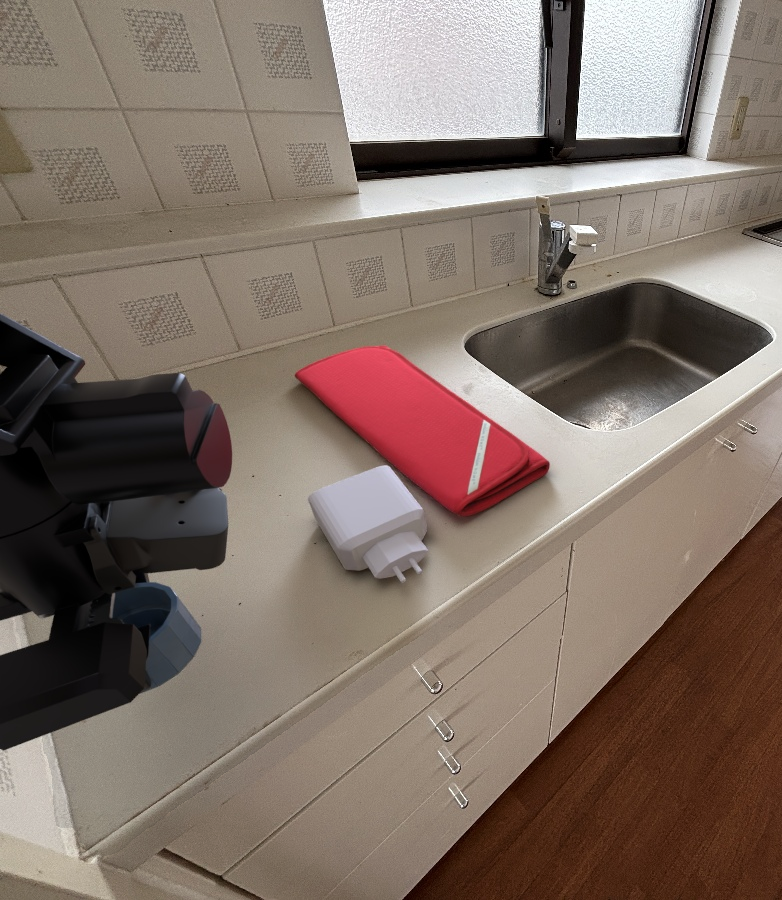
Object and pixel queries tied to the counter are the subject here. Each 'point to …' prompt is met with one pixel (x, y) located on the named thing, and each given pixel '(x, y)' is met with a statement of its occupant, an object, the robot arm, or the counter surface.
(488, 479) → the dish drying mat
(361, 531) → the charger
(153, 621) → the bowl
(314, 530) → the counter surface
